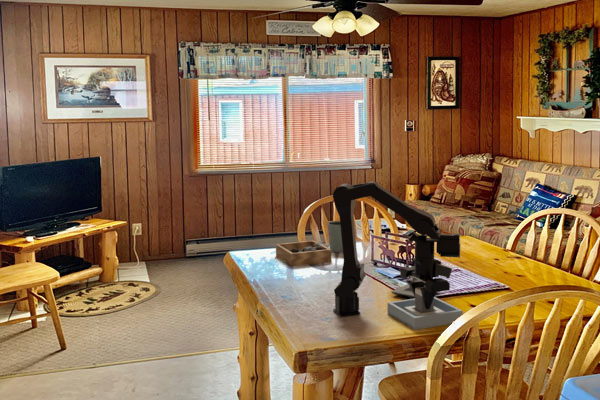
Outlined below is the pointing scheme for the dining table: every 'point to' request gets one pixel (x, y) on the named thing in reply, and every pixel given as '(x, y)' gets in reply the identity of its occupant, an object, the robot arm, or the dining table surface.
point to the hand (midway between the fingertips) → (424, 306)
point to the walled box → (423, 314)
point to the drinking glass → (335, 236)
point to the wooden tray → (302, 253)
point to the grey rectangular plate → (404, 291)
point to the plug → (421, 302)
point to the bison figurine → (308, 248)
